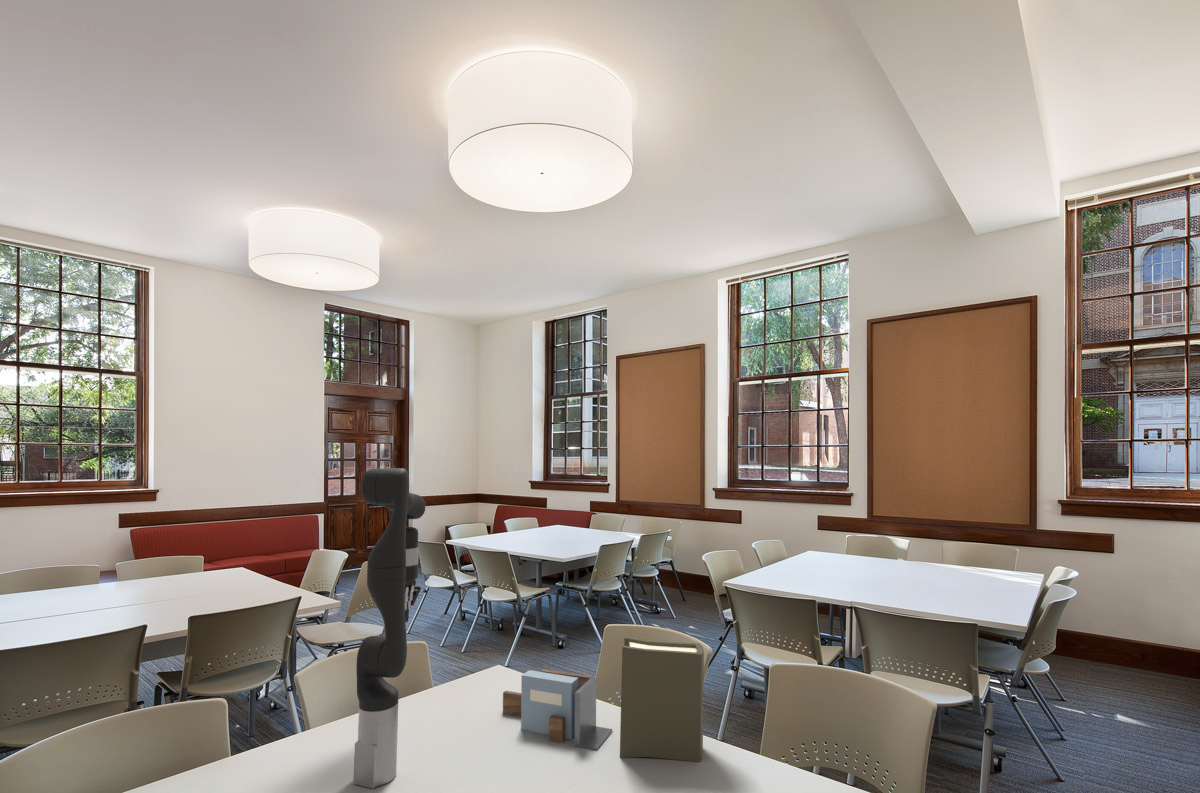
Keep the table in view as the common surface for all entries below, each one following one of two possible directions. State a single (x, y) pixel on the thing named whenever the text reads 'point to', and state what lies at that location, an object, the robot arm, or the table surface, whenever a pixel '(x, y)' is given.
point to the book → (662, 700)
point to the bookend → (588, 718)
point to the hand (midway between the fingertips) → (403, 622)
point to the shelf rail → (555, 722)
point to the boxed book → (547, 701)
